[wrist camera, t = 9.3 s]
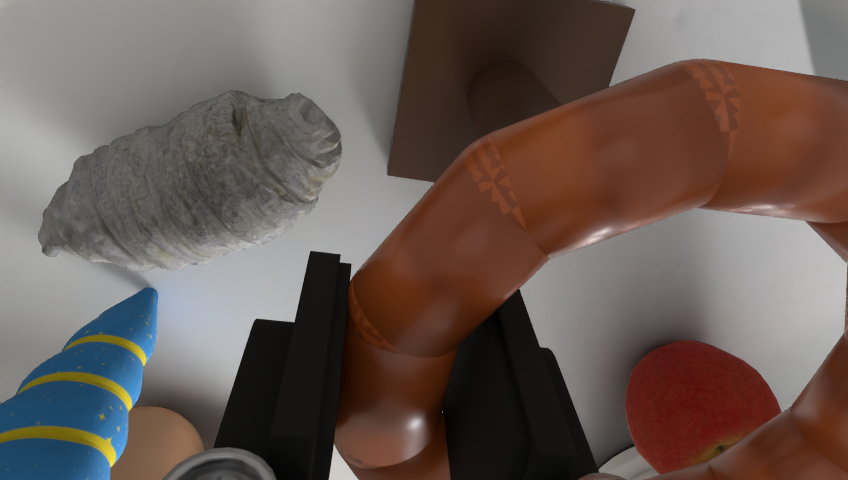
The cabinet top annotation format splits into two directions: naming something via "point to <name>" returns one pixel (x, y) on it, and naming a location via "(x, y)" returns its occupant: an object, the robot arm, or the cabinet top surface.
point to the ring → (585, 225)
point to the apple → (693, 404)
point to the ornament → (80, 398)
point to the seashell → (195, 184)
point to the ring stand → (495, 71)
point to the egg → (155, 444)
